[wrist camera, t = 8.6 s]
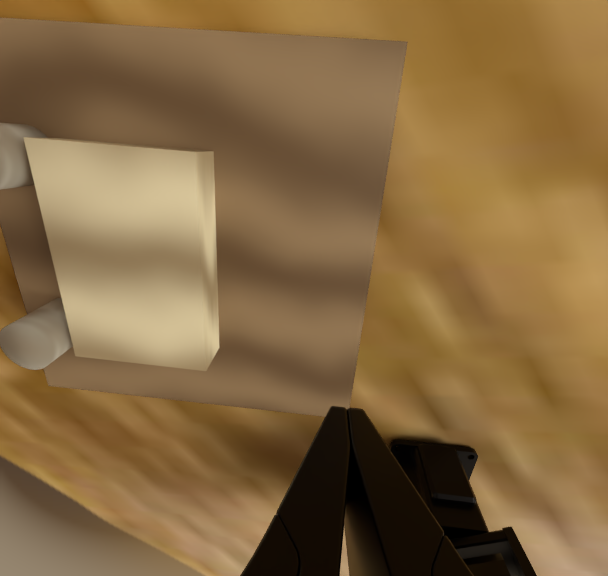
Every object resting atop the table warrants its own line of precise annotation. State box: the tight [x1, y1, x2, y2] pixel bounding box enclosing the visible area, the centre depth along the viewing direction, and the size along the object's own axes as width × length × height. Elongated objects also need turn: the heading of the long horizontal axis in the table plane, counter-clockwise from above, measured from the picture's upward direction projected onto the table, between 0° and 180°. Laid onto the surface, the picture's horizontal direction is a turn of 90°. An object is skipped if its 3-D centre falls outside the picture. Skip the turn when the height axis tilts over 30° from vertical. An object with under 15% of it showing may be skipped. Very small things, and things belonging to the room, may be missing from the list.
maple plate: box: [23, 137, 219, 371], centre depth 18 cm, size 12×8×2 cm, turn 175°
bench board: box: [0, 18, 407, 417], centre depth 19 cm, size 22×22×5 cm
